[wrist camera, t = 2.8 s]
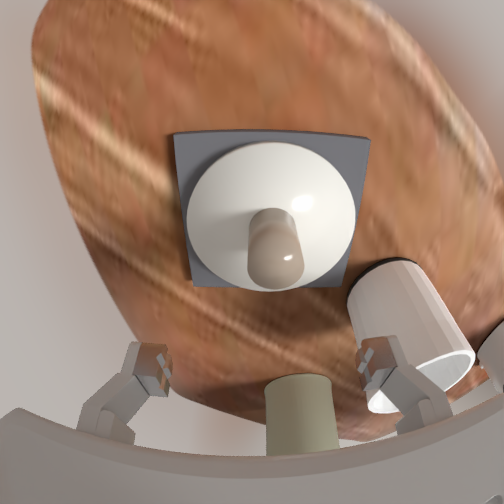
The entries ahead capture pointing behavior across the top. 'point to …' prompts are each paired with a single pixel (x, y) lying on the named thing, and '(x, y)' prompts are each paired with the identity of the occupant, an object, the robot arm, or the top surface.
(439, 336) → the mug
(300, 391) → the can
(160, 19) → the top surface
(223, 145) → the mat
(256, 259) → the lid
